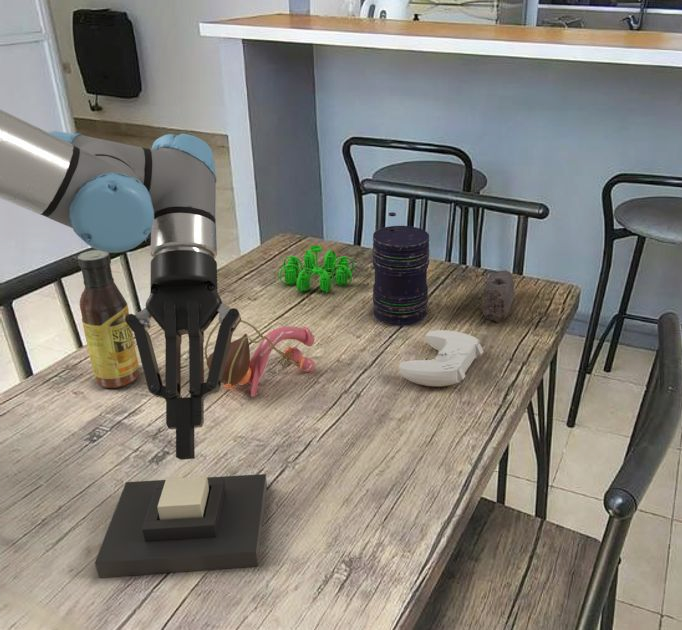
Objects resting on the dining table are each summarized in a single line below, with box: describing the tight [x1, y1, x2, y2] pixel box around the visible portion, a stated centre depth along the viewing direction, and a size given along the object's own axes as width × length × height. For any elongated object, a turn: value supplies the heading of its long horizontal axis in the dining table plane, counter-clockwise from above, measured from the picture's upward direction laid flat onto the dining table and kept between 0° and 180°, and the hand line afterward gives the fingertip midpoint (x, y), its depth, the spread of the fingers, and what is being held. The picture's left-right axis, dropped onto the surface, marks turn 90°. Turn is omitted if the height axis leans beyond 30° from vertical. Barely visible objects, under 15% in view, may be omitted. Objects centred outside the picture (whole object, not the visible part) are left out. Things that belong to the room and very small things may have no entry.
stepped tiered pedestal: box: [94, 473, 268, 579], centre depth 75 cm, size 16×12×4 cm
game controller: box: [398, 329, 484, 387], centre depth 106 cm, size 14×4×10 cm
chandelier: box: [278, 245, 355, 294], centre depth 133 cm, size 15×15×7 cm
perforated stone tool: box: [480, 269, 515, 323], centre depth 124 cm, size 15×5×7 cm, turn 164°
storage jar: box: [372, 211, 430, 327], centre depth 119 cm, size 10×10×18 cm
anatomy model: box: [204, 319, 316, 398], centre depth 101 cm, size 10×14×15 cm
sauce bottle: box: [77, 249, 139, 389], centre depth 97 cm, size 6×6×20 cm
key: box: [157, 475, 209, 520], centre depth 74 cm, size 4×4×2 cm
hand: (185, 457), depth 75 cm, fingers closed
